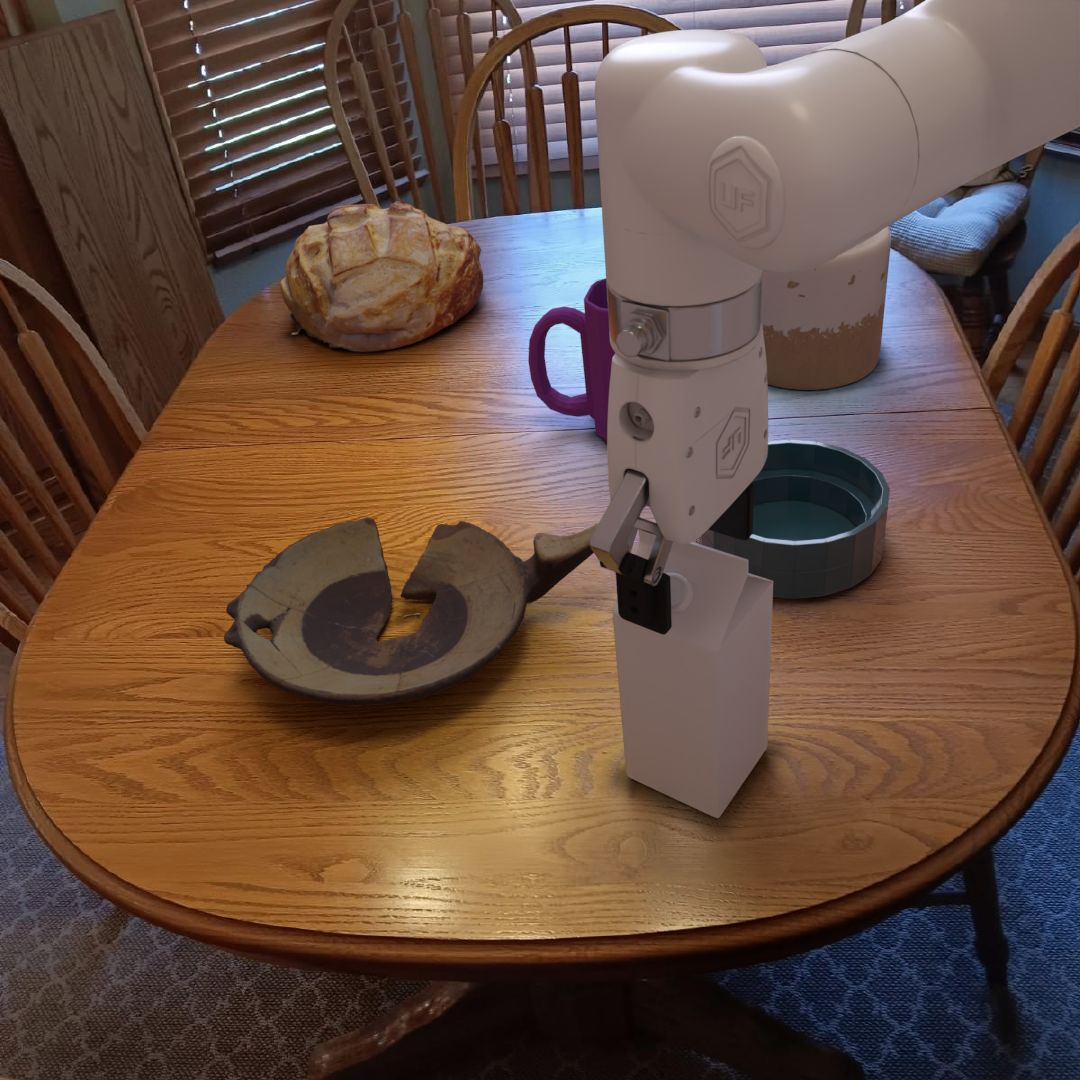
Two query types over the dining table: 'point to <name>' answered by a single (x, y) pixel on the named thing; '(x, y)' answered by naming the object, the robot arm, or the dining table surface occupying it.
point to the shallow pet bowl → (812, 520)
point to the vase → (826, 318)
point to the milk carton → (698, 679)
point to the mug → (593, 352)
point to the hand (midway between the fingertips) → (688, 575)
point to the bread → (380, 277)
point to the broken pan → (365, 603)
